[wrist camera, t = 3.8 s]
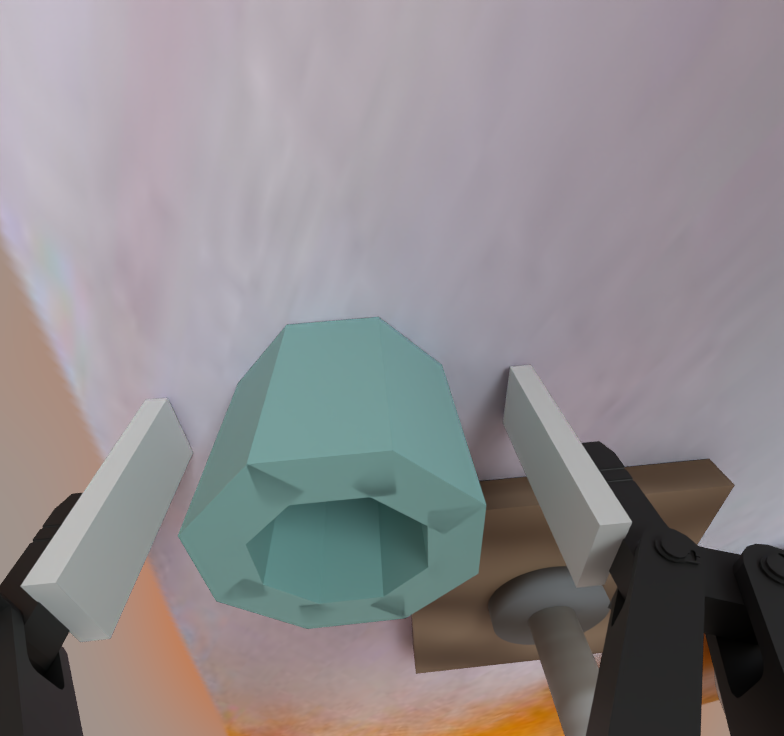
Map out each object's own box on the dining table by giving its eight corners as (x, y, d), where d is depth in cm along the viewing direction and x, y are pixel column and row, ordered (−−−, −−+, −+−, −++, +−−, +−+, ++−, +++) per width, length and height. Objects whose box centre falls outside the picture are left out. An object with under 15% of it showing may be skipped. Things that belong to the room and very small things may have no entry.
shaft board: (404, 488, 18) (449, 849, 10) (709, 458, 19) (1015, 777, 10) (413, 647, 27) (440, 906, 19) (619, 624, 28) (739, 867, 19)
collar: (221, 330, 13) (141, 474, 8) (442, 311, 13) (494, 440, 8) (270, 479, 17) (236, 636, 12) (440, 463, 18) (473, 610, 13)
